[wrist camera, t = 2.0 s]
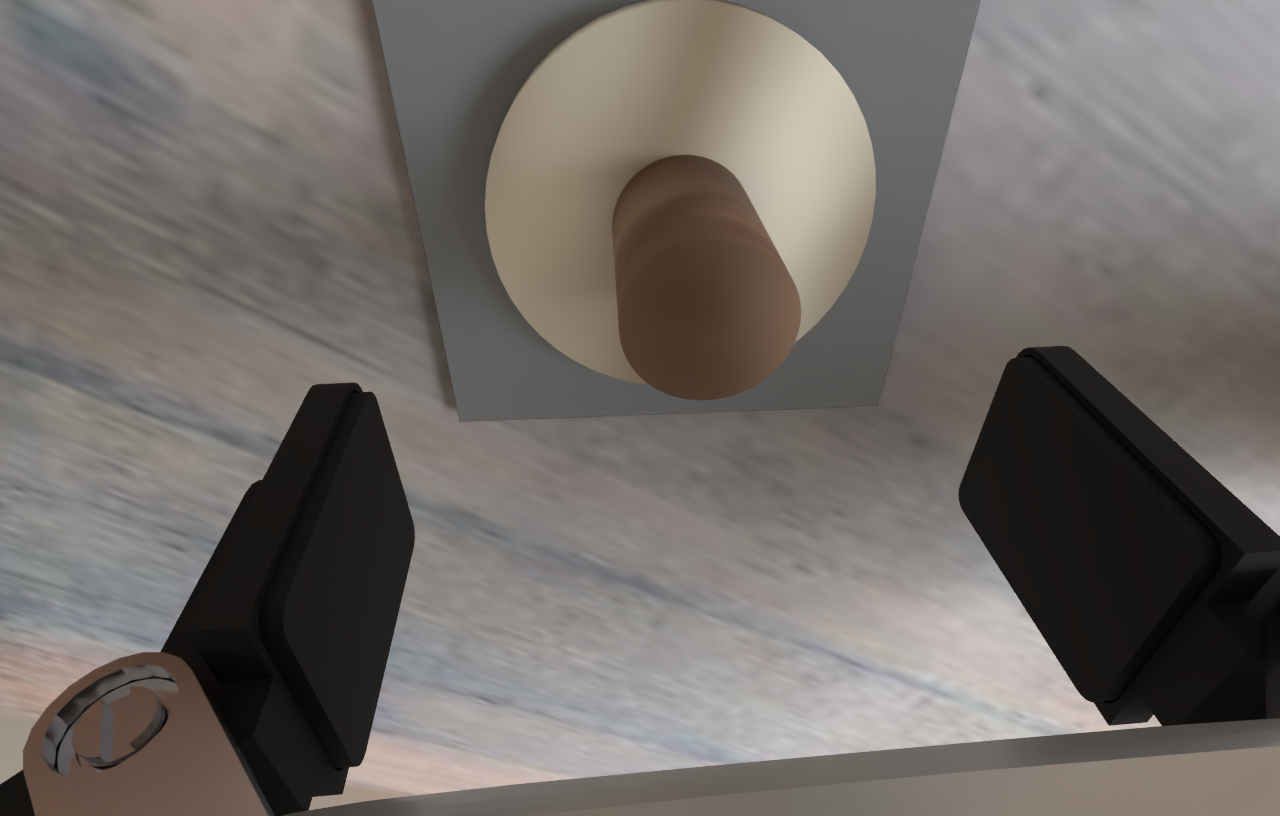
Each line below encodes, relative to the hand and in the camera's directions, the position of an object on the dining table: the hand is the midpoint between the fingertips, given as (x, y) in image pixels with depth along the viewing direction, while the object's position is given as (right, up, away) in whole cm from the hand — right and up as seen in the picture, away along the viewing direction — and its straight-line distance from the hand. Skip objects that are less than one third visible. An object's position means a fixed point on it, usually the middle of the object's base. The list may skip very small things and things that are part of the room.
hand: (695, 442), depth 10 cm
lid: (0, +6, +8) cm, 10 cm away
